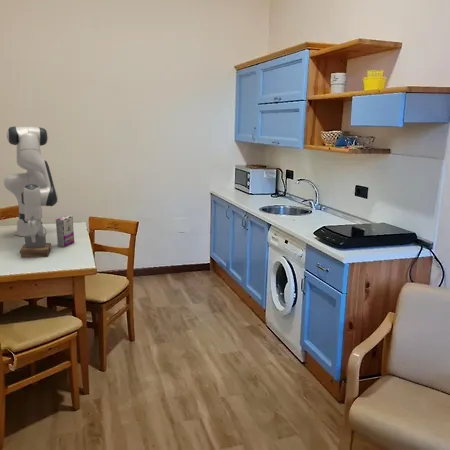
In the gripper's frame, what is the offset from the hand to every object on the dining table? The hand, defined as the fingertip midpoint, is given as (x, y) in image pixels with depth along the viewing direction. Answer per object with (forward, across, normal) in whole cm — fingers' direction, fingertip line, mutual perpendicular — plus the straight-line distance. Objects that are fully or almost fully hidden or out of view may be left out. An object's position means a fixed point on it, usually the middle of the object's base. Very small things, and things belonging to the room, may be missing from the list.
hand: (35, 239), depth 258 cm
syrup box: (+8, +16, +2) cm, 18 cm away
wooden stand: (+8, 0, 0) cm, 8 cm away
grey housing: (+4, 0, 0) cm, 4 cm away
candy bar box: (+8, +17, -14) cm, 23 cm away
